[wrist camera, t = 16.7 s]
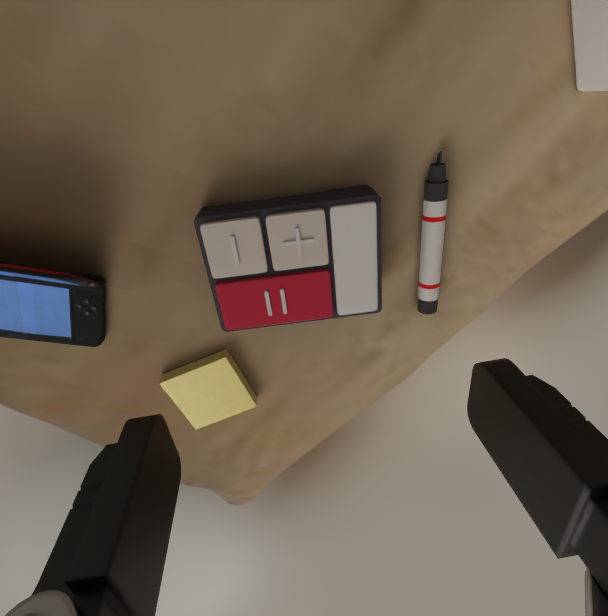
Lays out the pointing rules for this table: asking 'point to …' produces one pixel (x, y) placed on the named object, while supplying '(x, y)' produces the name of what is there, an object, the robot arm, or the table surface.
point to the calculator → (293, 257)
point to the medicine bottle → (590, 44)
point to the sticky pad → (209, 389)
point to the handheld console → (51, 306)
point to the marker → (432, 237)
